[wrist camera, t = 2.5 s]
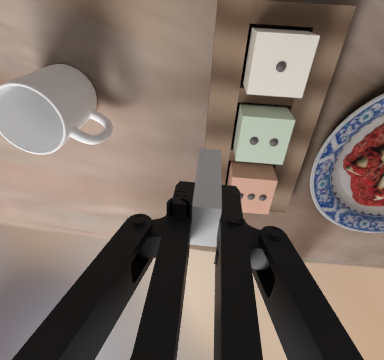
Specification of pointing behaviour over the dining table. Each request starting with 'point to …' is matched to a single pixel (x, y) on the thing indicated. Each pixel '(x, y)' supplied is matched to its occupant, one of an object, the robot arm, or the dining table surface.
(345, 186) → the ceramic plate
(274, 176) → the tile three
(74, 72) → the cup
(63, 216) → the dining table surface
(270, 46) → the tile one
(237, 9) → the button board
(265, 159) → the tile two
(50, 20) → the dining table surface
